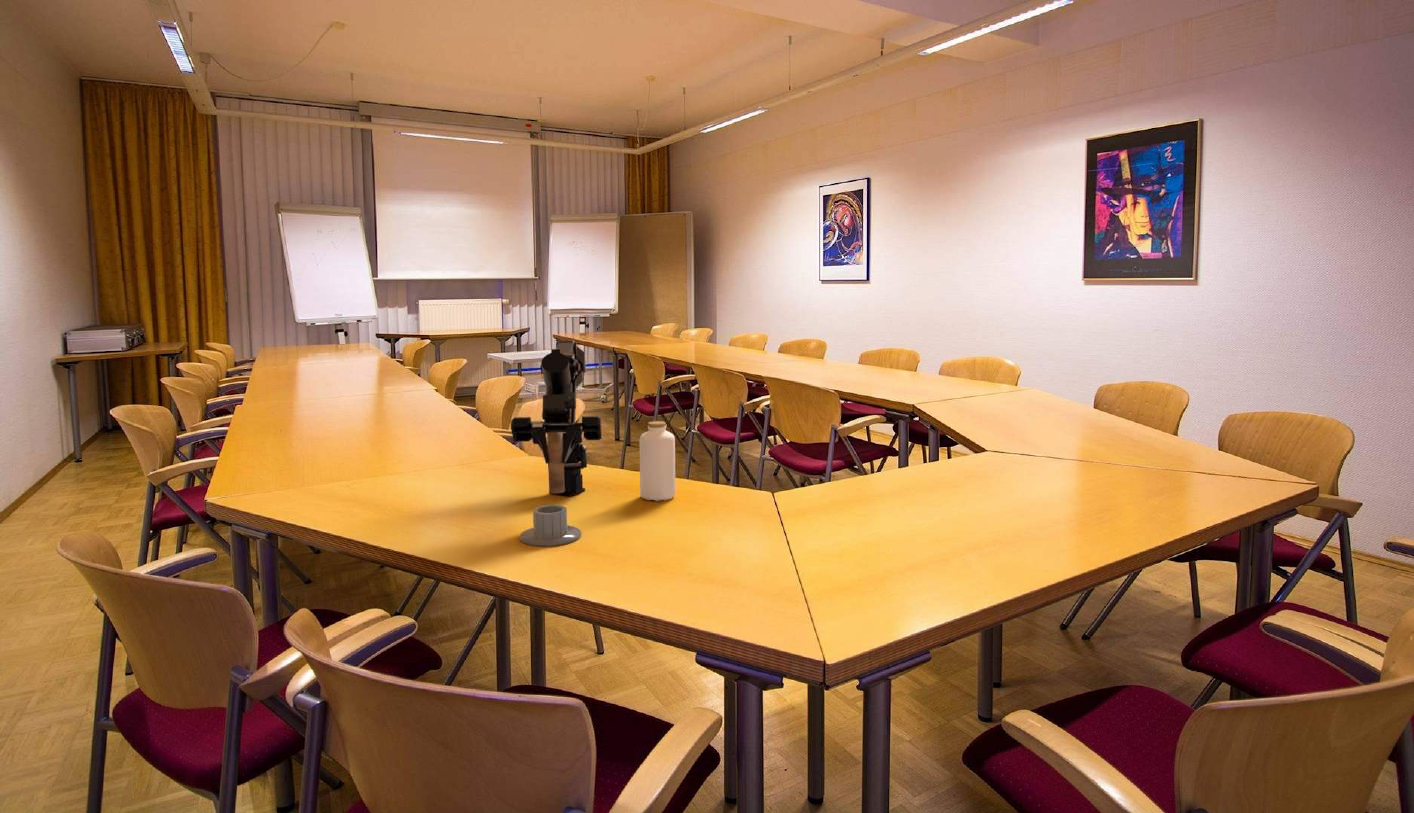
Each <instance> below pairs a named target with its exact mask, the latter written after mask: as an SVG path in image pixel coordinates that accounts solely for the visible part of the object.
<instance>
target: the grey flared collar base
mask: <svg viewBox="0 0 1414 813" xmlns="http://www.w3.org/2000/svg"><path fill="white" fill-rule="evenodd" d="M567 511H568V509H567V507H566V506H564V505H559V504H558V505H557V504H547V505H541V506H538V507H535V508H533V510H532V518H533V521H532V523H533V527H531V528H528V529H526V530H523V531H522V532H521V533H520V535H519V540H520V542H521V543H523V544H524V545H527V546H531V547H542V548H544V547H545V548H546V547H548V548H549V547H558V546H565V545H568V544H572V543H574V542H577V541H578V540H580V538H582V530H581V529H580V528H578V527H576V526H573V525H568V512H567Z"/></svg>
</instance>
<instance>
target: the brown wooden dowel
mask: <svg viewBox="0 0 1414 813" xmlns="http://www.w3.org/2000/svg"><path fill="white" fill-rule="evenodd" d="M546 439H547V445H548V464H547V470H548V493H549V492H550V493H562V492H564V491H565V485H564V463H563V432H548V433H546ZM550 493H549V494H550Z"/></svg>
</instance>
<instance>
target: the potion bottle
mask: <svg viewBox="0 0 1414 813" xmlns="http://www.w3.org/2000/svg"><path fill="white" fill-rule="evenodd" d="M647 429H648V430H647V431H645V432H644V433H641V434H640V436H639V442H638V443H639V490H640V493H639V494H640V496H641V497H642V499H643V500H646V501H650V500H655V501H654V502H660V501H659V500H664V501H669V500H671V499H672V497H673V498H674V497H675V496H676V445H675V444H676V437H675V435H674V434H673V433H672V432H670V431H668V430H667V425H666V421H660V420H655V421H649V422H648V426H647Z"/></svg>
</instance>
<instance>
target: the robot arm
mask: <svg viewBox="0 0 1414 813" xmlns="http://www.w3.org/2000/svg"><path fill="white" fill-rule="evenodd" d="M550 351H551V352H550V353H547V354H546V355H545V356H544V357H543V358H542V359H541V362H540V363H541V364H540V367H539V368H540V373H541V375H542V378H543V382H544V385H545V394H543V395H542V407H541V408H542V411H541V412H542V413H541V417H542V420H543V421H542V420H535V421H534V420H533V421H532V418H531V416H519V417H517V416H515V417H513V418H512V419H511V420H510V431H511V434H512V438H513V441H515V442H516V443H518V442H524V443H525V442H530V441H531V440H532V444H533V445H538V448H540V450H541V453H542V456H543V459H544V462H545V464H546V465H548V444H547V433H548V432H563V463H564V485H565V491H564V492H562V493H550V492H549V491H548V494H552V495H557V496H565V497H571V496H572V497H573V496H574V494H575V495H577V494H580V493H582V492H581V491H583V492H585V491H586V488H585V487H583V483H584V482H583V473H582V470H584V468H587V467H588V464H587V462H588V460H587V450H586V449H585V447H584V443H583V438H584V439H585V440H586V441H600V440H602V436H603V435H602V433H603V432H602V419H601V417H600V416H599V415H583V416H582V415H581V416H582V417H581V422H576V414H577V410H576V409H577V388H578V387H579V386H580V385H581V384H582V383H583V380H584V373H586V372H587V371H586V370H587V366H586V364H587V363H586V353H585V351H584V350H582V348H580V347H579V346H578V343H577V341H575V340H559V341H556V342H555V348H554V349H553V348H551V350H550ZM582 436H583V437H582ZM579 492H580V493H579Z"/></svg>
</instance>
